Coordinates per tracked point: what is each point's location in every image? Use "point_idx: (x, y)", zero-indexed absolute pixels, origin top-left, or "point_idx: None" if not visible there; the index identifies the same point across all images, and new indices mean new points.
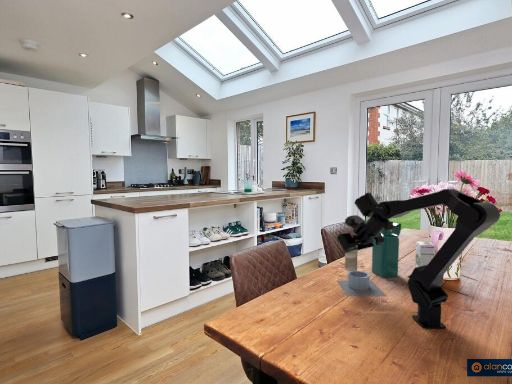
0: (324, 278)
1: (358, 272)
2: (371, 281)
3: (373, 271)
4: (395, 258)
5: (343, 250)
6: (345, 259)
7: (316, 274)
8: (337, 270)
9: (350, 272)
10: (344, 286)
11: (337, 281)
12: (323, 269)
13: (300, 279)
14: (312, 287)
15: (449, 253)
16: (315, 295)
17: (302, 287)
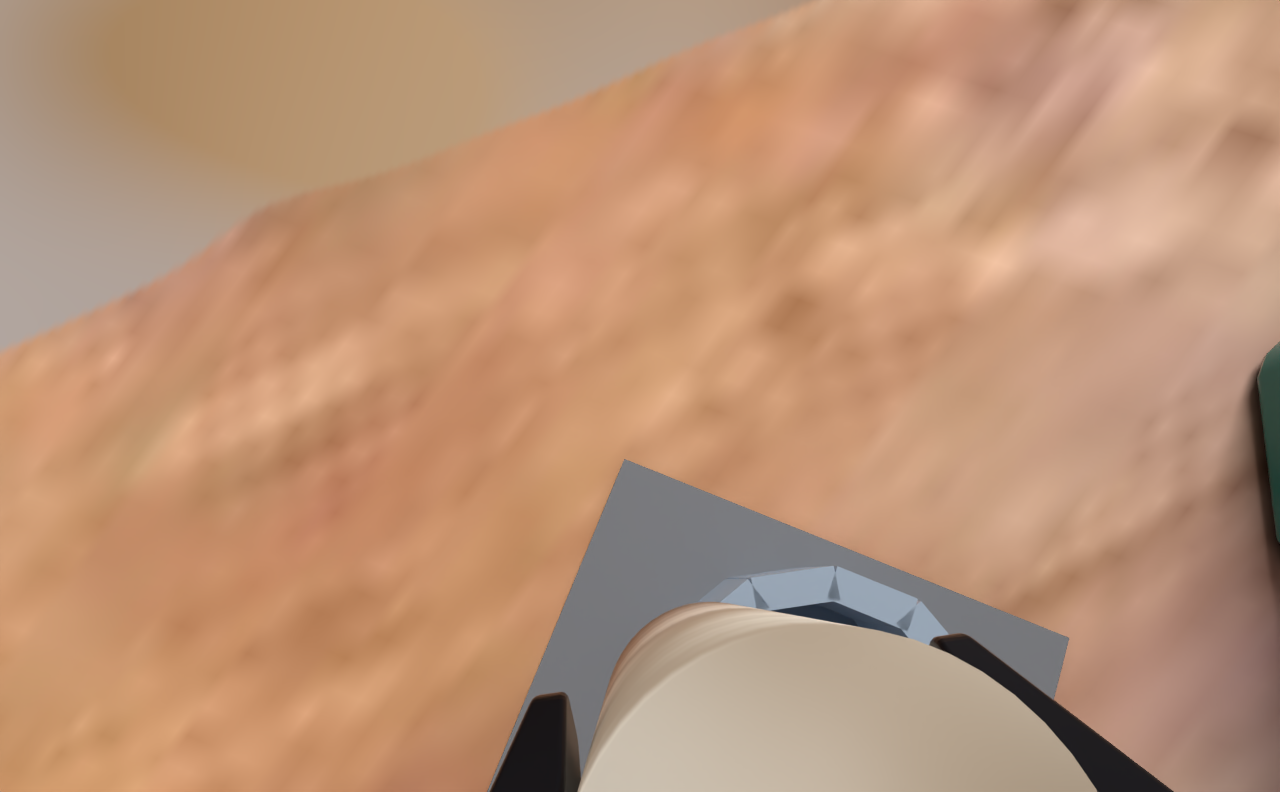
0: (547, 322)
1: (896, 632)
2: (1047, 652)
3: (1275, 397)
4: None
5: (520, 734)
6: (600, 712)
7: (534, 181)
8: (861, 155)
9: None
10: (596, 668)
11: (617, 489)
12: (714, 73)
13: (259, 252)
14: (234, 516)
15: None
16: (109, 747)
17: (125, 473)
